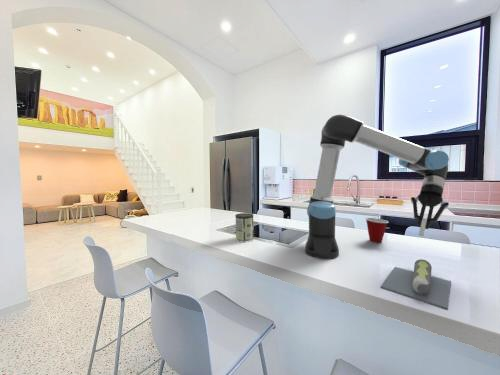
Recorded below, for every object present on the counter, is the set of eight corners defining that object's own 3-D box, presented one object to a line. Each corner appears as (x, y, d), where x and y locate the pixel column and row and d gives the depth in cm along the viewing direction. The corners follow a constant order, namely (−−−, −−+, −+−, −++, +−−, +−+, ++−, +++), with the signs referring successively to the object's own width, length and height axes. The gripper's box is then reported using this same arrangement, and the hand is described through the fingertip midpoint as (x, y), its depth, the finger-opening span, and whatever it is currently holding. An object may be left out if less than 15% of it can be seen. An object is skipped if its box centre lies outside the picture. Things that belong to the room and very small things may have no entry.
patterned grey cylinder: (415, 257, 80) (411, 278, 65) (432, 261, 77) (432, 284, 61) (414, 269, 80) (410, 293, 65) (431, 273, 77) (430, 300, 62)
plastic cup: (391, 244, 109) (392, 221, 108) (368, 243, 111) (369, 221, 110) (383, 238, 119) (383, 217, 118) (362, 237, 121) (362, 216, 121)
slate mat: (394, 267, 83) (394, 266, 83) (451, 282, 71) (451, 281, 71) (380, 287, 69) (380, 286, 69) (447, 309, 57) (447, 308, 57)
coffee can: (242, 235, 128) (242, 212, 127) (257, 238, 123) (256, 214, 122) (232, 240, 120) (231, 215, 119) (247, 243, 114) (247, 217, 113)
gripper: (450, 195, 93) (441, 243, 85) (413, 190, 102) (402, 233, 94) (453, 185, 88) (443, 235, 80) (414, 181, 97) (402, 226, 89)
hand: (421, 234), depth 87 cm, fingers closed
